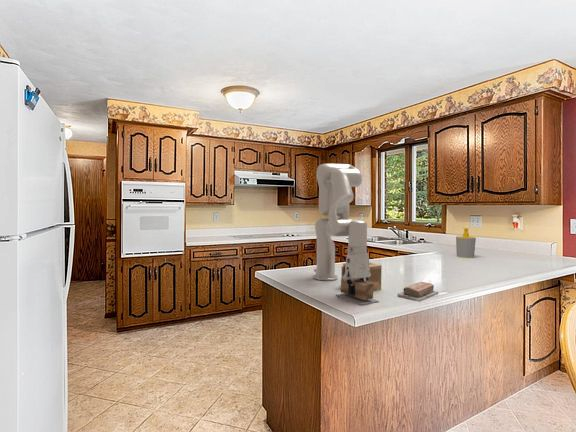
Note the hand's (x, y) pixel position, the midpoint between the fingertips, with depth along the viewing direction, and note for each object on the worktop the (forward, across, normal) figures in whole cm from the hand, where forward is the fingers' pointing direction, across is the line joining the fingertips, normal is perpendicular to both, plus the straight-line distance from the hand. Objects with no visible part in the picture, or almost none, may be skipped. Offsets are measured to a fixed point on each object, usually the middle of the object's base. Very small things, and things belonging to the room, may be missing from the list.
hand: (356, 293), depth 144 cm
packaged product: (+3, +27, -9) cm, 29 cm away
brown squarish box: (+2, +14, +12) cm, 18 cm away
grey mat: (+2, 0, 0) cm, 2 cm away
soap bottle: (+2, +146, +43) cm, 152 cm away
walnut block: (+1, 0, 0) cm, 1 cm away
